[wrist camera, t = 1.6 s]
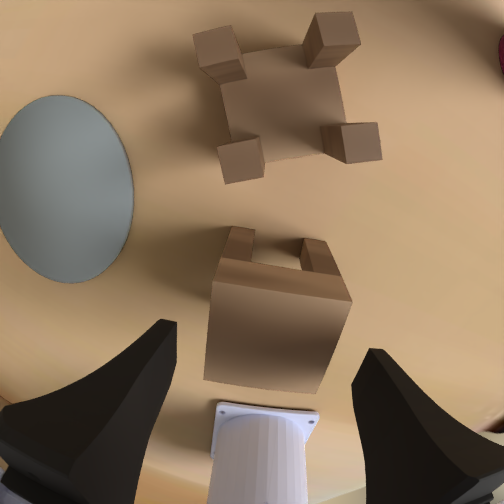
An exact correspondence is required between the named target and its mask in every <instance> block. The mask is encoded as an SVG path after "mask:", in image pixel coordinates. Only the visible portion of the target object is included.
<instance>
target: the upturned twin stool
mask: <svg viewBox="0 0 504 504" xmlns="http://www.w3.org/2000/svg"><path fill="white" fill-rule="evenodd" d="M193 40H194V44H195V49H196V54H197V59H198V63H199V68H200V69H202V70H203V71H204V72H205V73H206V74H208V75H209V76H210V77H211V78H212V79H214V80H215V81H216V82H217V83H218V84H219V85H220V89H221V93H222V98H223V102H224V107H225V112H226V116H227V121H228V126H229V130H230V135H231V140H232V142H229V143H226V144H223V145H221V146H218V147H217V151H218V155H219V160H220V164H221V169H222V173H223V178H224V182H225V184H230V183H235V182H241V181H246V180H251V179H256V178H262V177H264V168H265V163H267V162H273V161H279V160H285V159H291V158H297V157H303V156H310V155H317V154H324V153H325V154H327V155H329V156H331V157H333V158H335V159H337V160H339V161H341V162H343V163H345V164H352V163H360V162H368V161H377V160H382V152H381V145H380V137H379V131H378V124H377V122H372V123H346V118H345V112H344V107H343V101H342V96H341V91H340V86H339V82H338V77H337V73H336V68H335V66H336V65H338V64H339V63H340V62H341V61H342V60H343V59H344V58H346V57H347V56H348V55H349V54H350V53H351V52H353V51H354V50H355V49H356V48H357V47H358V46H360V45H361V42H360V38H359V34H358V30H357V27H356V23H355V20H354V17H353V13H352V12H326V13H315V15H314V17H313V20H312V22H311V24H310V27H309V29H308V32H307V34H306V36H305V39H304V41H303V44H302V45H293V46H286V47H279V48H272V49H266V50H260V51H254V52H249V53H244V54H242V53H241V50H240V48H239V45H238V42H237V40H236V37H235V35H234V32H233V29H232V27H231V25H230V26H225V27H221V28H216V29H212V30H208V31H204V32H201V33H197V34H193Z"/></svg>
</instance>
